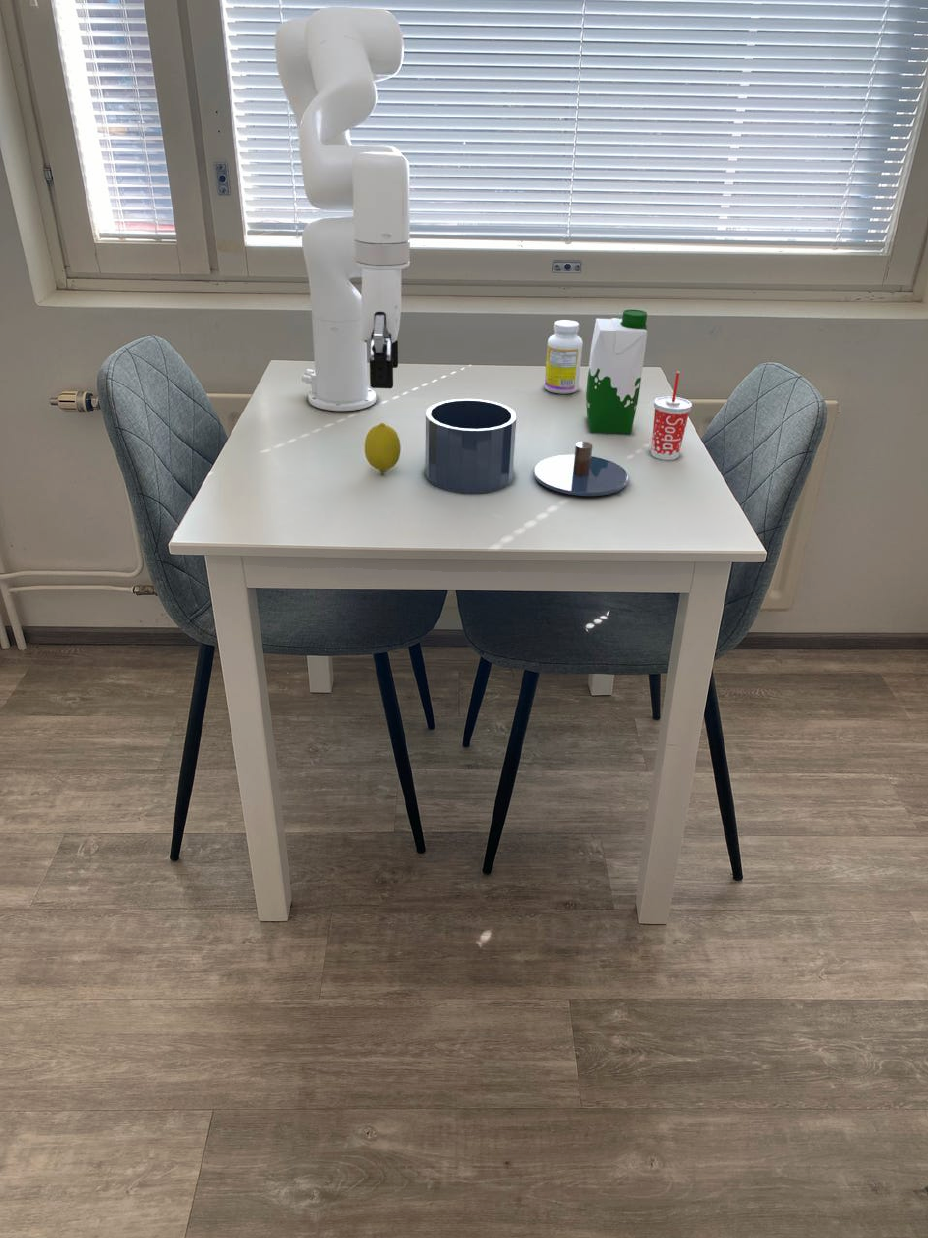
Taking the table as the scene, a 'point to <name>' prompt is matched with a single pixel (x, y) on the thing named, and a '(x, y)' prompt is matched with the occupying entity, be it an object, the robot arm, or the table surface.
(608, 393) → the milk carton
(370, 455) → the lemon
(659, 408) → the beverage cup
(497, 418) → the crock
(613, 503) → the table surface
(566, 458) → the crock lid
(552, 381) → the supplement bottle
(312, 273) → the robot arm
